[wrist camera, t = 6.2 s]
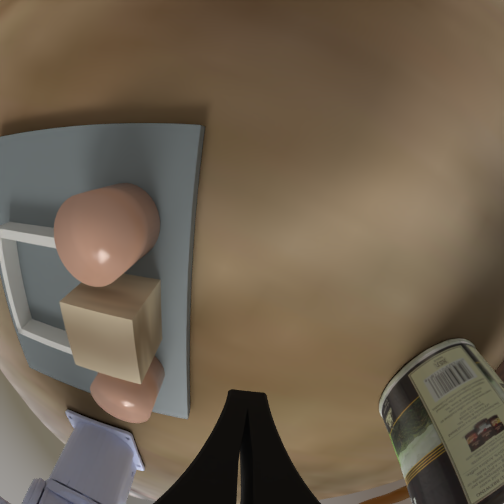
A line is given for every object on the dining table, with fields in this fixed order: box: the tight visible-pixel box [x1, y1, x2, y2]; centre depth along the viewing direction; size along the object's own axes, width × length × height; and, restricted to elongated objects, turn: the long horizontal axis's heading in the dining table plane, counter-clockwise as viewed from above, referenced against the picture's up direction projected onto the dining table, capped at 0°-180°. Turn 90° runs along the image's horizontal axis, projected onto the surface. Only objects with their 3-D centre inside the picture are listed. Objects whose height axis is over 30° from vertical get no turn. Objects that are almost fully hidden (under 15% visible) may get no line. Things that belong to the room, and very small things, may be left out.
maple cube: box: [59, 273, 162, 384], centre depth 13 cm, size 4×4×4 cm
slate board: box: [0, 123, 205, 419], centre depth 16 cm, size 20×16×1 cm
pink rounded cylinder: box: [90, 356, 165, 423], centre depth 15 cm, size 4×4×4 cm
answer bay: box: [0, 222, 73, 355], centre depth 14 cm, size 8×8×2 cm
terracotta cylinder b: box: [54, 183, 160, 287], centre depth 12 cm, size 4×4×4 cm
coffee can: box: [379, 338, 504, 504], centre depth 12 cm, size 10×10×14 cm
